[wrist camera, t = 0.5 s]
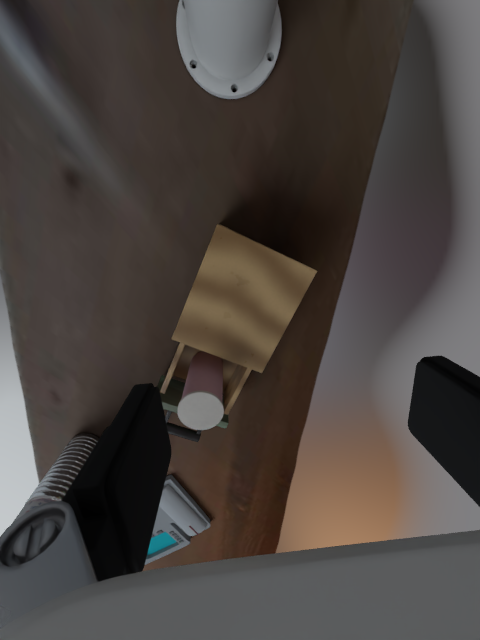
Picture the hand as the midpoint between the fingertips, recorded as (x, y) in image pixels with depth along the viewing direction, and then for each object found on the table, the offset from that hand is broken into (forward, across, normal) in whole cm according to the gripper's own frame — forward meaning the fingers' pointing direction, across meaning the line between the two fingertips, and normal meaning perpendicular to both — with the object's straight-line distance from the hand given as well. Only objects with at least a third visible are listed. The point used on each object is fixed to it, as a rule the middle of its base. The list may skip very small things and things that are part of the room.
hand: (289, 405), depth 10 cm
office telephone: (+36, +24, +56) cm, 71 cm away
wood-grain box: (+35, 0, +3) cm, 35 cm away
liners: (+33, +7, +15) cm, 37 cm away
